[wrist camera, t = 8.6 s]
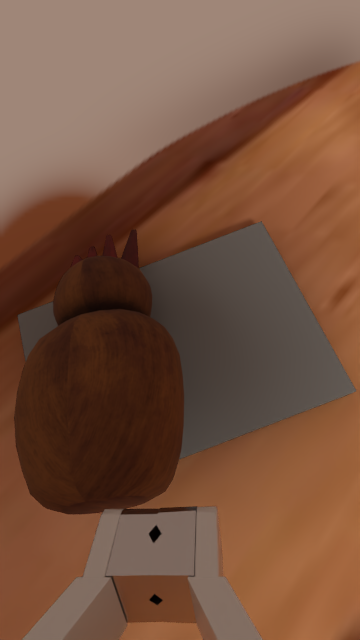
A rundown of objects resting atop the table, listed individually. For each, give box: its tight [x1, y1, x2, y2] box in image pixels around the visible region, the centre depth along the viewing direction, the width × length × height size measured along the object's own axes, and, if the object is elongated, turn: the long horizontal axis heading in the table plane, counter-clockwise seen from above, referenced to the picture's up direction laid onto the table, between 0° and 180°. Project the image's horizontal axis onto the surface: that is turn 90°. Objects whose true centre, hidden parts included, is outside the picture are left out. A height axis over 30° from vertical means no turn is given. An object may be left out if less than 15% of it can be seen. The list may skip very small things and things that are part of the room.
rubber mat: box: [17, 221, 356, 459], centre depth 19 cm, size 11×16×1 cm
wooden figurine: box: [14, 230, 184, 514], centre depth 16 cm, size 7×6×15 cm
